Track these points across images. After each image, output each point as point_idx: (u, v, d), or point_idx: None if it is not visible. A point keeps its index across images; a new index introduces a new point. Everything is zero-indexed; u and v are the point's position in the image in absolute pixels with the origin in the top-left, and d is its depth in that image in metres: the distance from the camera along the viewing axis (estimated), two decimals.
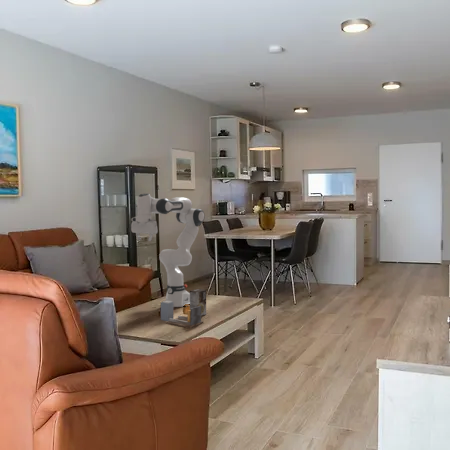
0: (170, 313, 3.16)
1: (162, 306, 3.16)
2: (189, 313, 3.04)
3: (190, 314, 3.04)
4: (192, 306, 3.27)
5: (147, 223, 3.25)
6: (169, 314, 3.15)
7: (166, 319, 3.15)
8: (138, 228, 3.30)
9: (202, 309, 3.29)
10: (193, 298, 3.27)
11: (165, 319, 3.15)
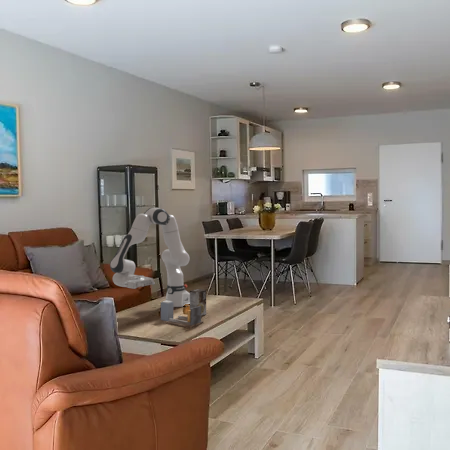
0: (170, 313, 3.16)
1: (162, 306, 3.16)
2: (189, 313, 3.04)
3: (190, 314, 3.04)
4: (192, 306, 3.27)
5: None
6: (169, 314, 3.15)
7: (166, 319, 3.15)
8: None
9: (202, 309, 3.29)
10: (193, 298, 3.27)
11: (165, 319, 3.15)
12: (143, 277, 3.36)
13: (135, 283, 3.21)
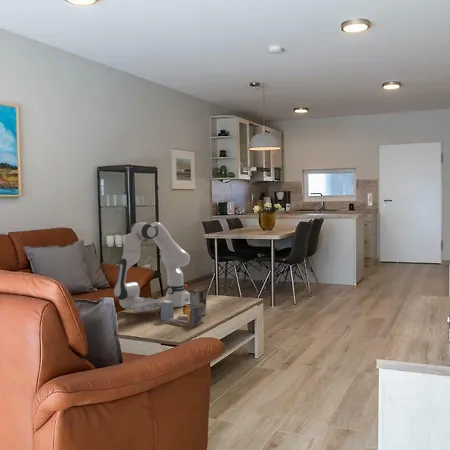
0: (170, 313, 3.16)
1: (162, 306, 3.16)
2: (189, 313, 3.04)
3: (190, 314, 3.04)
4: (192, 306, 3.27)
5: None
6: (169, 314, 3.15)
7: (166, 319, 3.15)
8: None
9: (202, 309, 3.29)
10: (193, 298, 3.27)
11: (165, 319, 3.15)
12: (150, 299, 3.34)
13: (142, 307, 3.19)
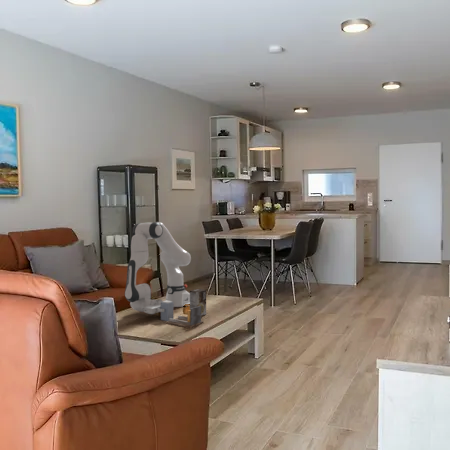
0: (170, 313, 3.16)
1: (162, 306, 3.16)
2: (189, 313, 3.04)
3: (190, 314, 3.04)
4: (192, 306, 3.27)
5: None
6: (169, 314, 3.15)
7: (166, 319, 3.15)
8: None
9: (202, 309, 3.29)
10: (193, 298, 3.27)
11: (165, 319, 3.15)
12: None
13: (154, 309, 3.14)
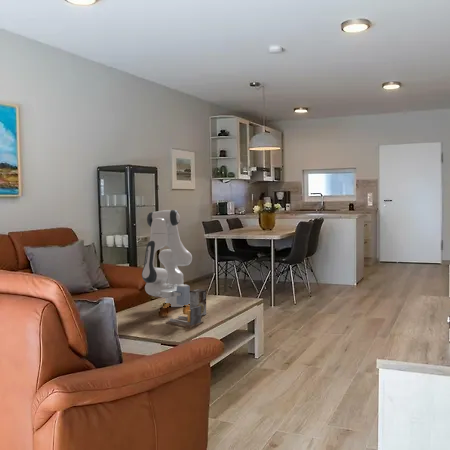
0: (187, 297, 3.08)
1: (178, 290, 3.08)
2: (189, 313, 3.04)
3: (190, 314, 3.04)
4: (192, 306, 3.27)
5: None
6: (185, 298, 3.07)
7: (182, 303, 3.07)
8: None
9: (202, 309, 3.29)
10: (193, 298, 3.27)
11: (181, 303, 3.07)
12: None
13: (170, 293, 3.05)
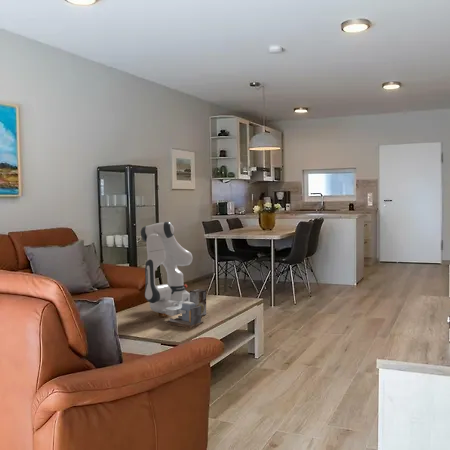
0: None
1: (183, 307, 3.06)
2: None
3: None
4: None
5: None
6: None
7: (188, 321, 3.05)
8: None
9: (202, 309, 3.29)
10: (193, 298, 3.27)
11: None
12: (182, 302, 3.18)
13: (175, 310, 3.04)
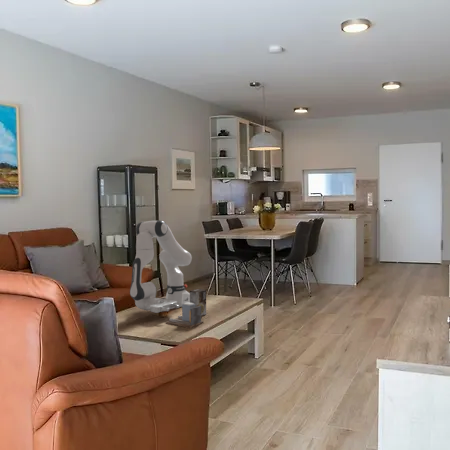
0: None
1: (184, 308, 3.06)
2: None
3: None
4: None
5: None
6: None
7: None
8: None
9: (202, 309, 3.29)
10: (193, 298, 3.27)
11: None
12: (167, 300, 3.26)
13: (159, 308, 3.11)
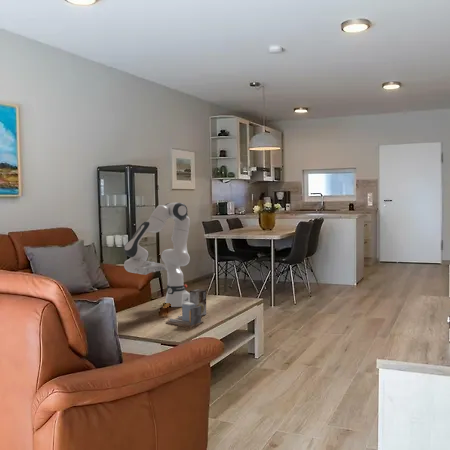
0: None
1: (184, 308, 3.06)
2: None
3: None
4: None
5: None
6: None
7: None
8: None
9: (202, 309, 3.29)
10: (193, 298, 3.27)
11: None
12: (154, 263, 3.36)
13: (146, 269, 3.21)
